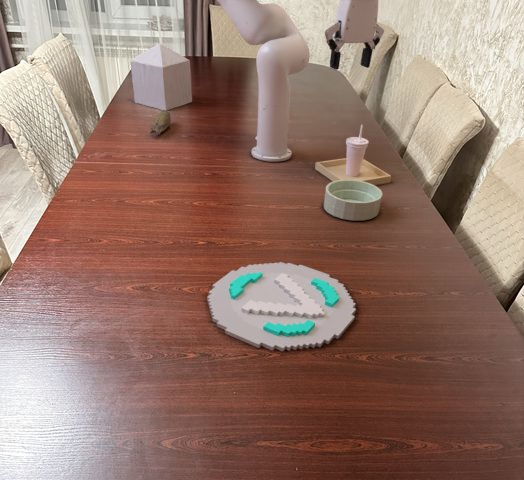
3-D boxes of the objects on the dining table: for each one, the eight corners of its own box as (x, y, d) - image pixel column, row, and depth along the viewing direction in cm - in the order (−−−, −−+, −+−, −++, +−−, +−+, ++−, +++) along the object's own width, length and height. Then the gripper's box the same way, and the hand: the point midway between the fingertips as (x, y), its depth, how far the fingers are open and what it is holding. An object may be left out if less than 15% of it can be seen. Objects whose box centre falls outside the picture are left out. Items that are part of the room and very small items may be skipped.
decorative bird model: (175, 122, 184) (174, 107, 181) (162, 140, 169) (160, 124, 166) (161, 121, 185) (159, 106, 181) (146, 139, 169) (145, 123, 166)
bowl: (312, 202, 139) (315, 184, 135) (358, 194, 144) (361, 176, 141) (342, 225, 129) (345, 206, 126) (390, 216, 134) (394, 197, 131)
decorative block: (192, 101, 205) (190, 43, 192) (166, 110, 194) (161, 49, 181) (161, 94, 211) (157, 37, 198) (133, 102, 200) (127, 43, 187)
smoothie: (362, 179, 151) (371, 129, 142) (340, 176, 151) (347, 126, 142) (363, 171, 155) (372, 122, 146) (342, 168, 156) (349, 119, 147)
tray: (314, 168, 157) (315, 162, 155) (357, 162, 162) (358, 156, 161) (345, 190, 145) (346, 183, 144) (390, 182, 151) (391, 175, 150)
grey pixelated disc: (310, 371, 87) (311, 363, 86) (179, 313, 98) (179, 306, 97) (375, 294, 106) (376, 287, 105) (259, 253, 117) (259, 246, 116)
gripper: (381, -15, 130) (367, 62, 141) (323, -15, 123) (313, 65, 134) (400, -10, 125) (384, 69, 136) (340, -10, 118) (329, 73, 130)
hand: (349, 67), depth 135 cm, fingers open, 9 cm apart
